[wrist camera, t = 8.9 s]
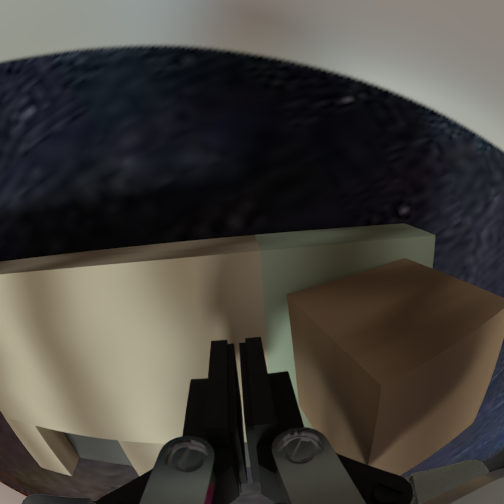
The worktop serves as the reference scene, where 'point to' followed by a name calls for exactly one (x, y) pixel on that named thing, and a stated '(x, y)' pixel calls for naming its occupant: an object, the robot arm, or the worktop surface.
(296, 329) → the walnut block
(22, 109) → the worktop surface
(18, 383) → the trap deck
